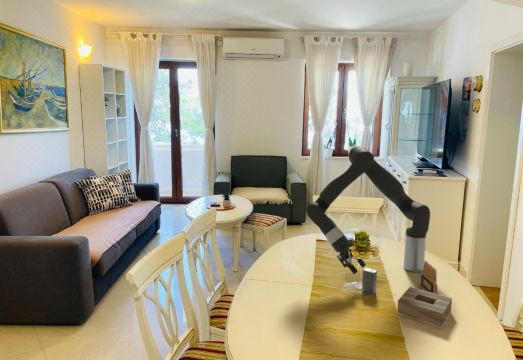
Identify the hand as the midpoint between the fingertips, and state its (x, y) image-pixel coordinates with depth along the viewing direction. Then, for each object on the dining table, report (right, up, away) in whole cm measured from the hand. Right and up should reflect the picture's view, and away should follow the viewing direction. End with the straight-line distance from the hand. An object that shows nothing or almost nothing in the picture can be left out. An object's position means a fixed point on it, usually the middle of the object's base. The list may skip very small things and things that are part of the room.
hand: (360, 269), depth 167 cm
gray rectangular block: (+4, -9, -1) cm, 10 cm away
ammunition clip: (+30, -9, 0) cm, 31 cm away
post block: (+20, -13, -19) cm, 30 cm away
